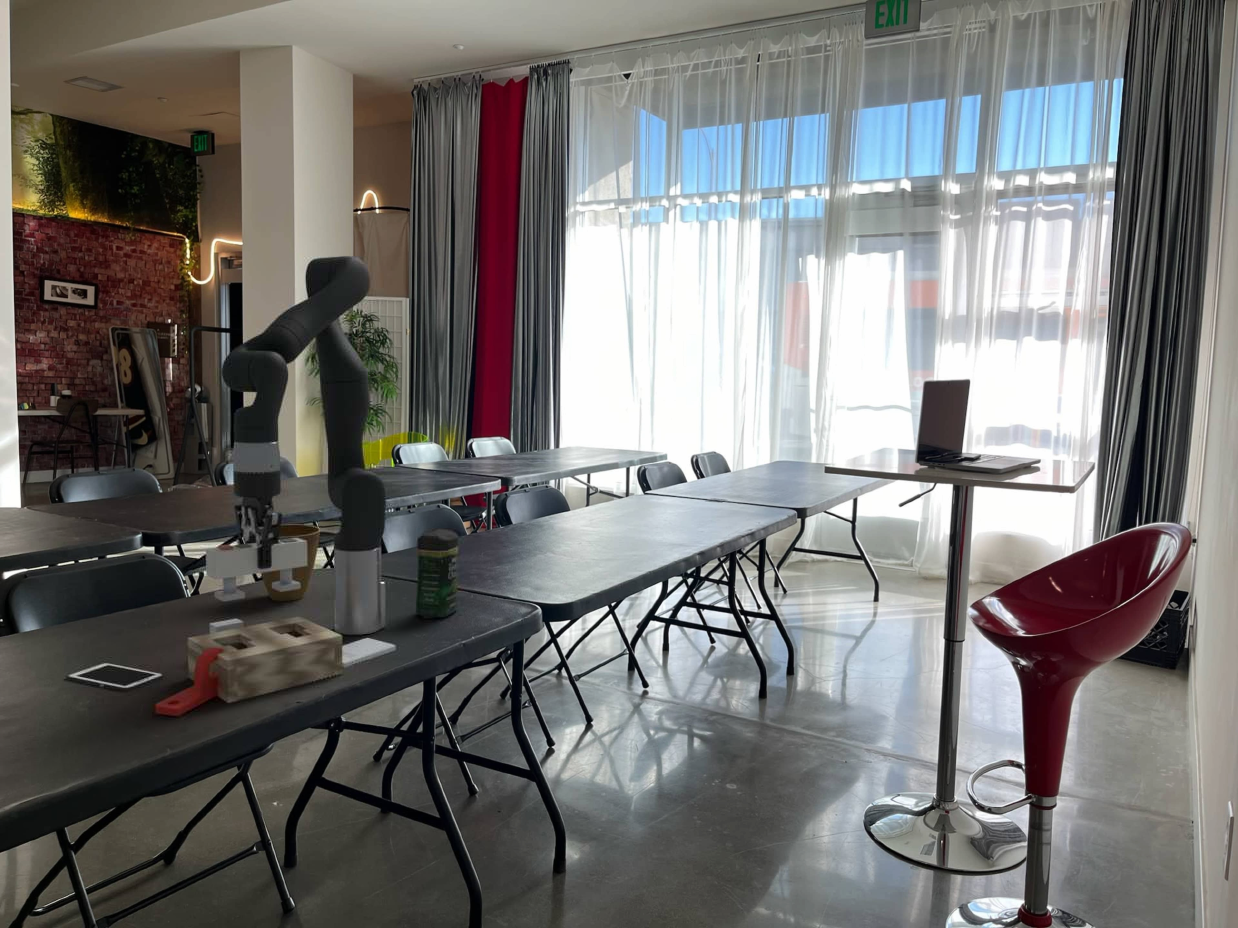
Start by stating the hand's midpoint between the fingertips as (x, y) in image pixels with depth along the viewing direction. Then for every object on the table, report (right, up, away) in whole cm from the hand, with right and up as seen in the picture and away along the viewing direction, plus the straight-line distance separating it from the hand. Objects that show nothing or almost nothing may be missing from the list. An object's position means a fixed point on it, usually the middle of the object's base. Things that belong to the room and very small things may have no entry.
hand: (258, 565), depth 153 cm
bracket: (-6, -20, -12) cm, 24 cm away
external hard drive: (+13, -19, +13) cm, 27 cm away
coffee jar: (+22, -16, +42) cm, 50 cm away
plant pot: (-15, -14, +52) cm, 56 cm away
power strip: (0, -5, 0) cm, 5 cm away
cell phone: (-24, -20, -2) cm, 31 cm away
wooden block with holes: (+1, -19, +1) cm, 19 cm away
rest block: (-11, -18, +11) cm, 24 cm away
